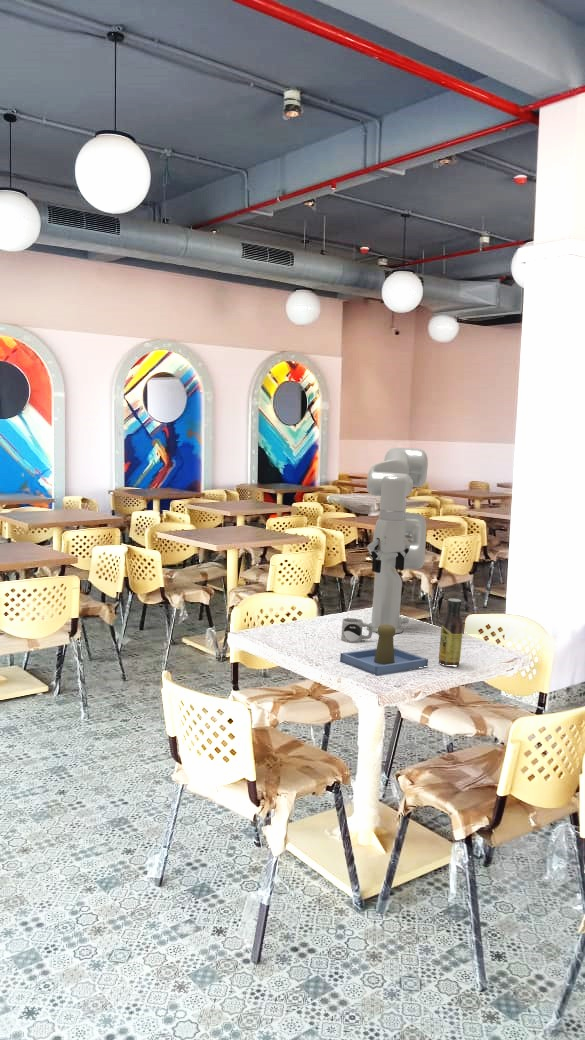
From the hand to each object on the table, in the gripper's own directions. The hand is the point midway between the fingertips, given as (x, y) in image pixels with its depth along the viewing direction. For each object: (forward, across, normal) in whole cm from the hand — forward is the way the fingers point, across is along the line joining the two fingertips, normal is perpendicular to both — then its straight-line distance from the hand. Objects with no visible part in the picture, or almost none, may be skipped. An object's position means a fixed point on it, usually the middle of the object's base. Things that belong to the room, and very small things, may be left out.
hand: (387, 570), depth 253 cm
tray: (+25, +10, +12) cm, 29 cm away
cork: (+24, +10, +12) cm, 29 cm away
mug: (+26, -2, -14) cm, 30 cm away
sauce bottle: (+25, -8, +21) cm, 34 cm away
